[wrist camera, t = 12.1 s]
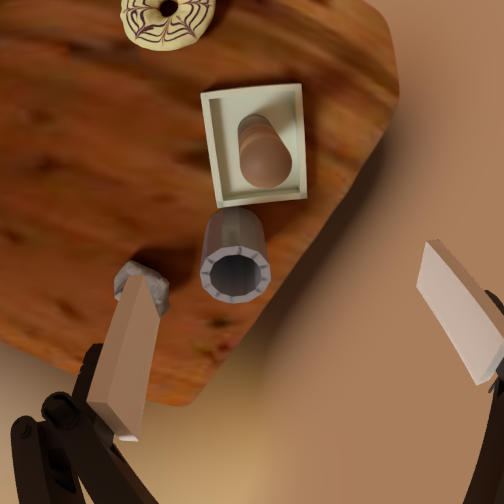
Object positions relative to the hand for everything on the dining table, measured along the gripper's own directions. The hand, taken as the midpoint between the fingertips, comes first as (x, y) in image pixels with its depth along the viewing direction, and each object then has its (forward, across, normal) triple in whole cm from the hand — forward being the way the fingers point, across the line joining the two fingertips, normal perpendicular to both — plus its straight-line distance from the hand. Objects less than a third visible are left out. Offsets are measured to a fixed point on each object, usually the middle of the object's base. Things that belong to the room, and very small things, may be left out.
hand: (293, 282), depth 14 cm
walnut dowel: (+27, 0, +1) cm, 27 cm away
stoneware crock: (+28, -4, -12) cm, 30 cm away
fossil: (+28, -18, -18) cm, 38 cm away
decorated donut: (+28, -8, +18) cm, 34 cm away
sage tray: (+28, 0, 0) cm, 28 cm away
